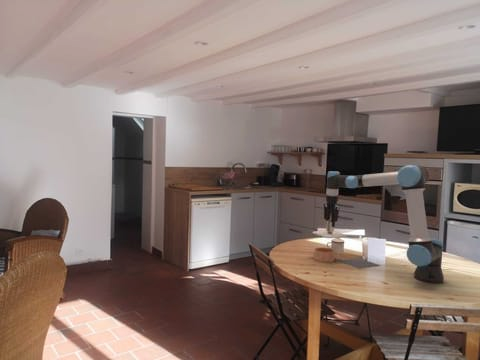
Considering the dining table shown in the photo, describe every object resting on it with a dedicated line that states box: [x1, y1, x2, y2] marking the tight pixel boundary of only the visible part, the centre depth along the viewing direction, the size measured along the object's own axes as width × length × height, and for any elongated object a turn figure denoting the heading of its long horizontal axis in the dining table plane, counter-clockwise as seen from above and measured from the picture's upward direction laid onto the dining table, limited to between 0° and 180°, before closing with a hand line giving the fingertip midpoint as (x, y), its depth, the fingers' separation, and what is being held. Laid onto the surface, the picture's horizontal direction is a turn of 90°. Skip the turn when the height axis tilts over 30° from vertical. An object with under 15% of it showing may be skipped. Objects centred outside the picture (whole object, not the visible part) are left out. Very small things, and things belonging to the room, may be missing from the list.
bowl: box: [313, 247, 336, 263], centre depth 238 cm, size 13×13×6 cm
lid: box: [312, 218, 349, 239], centre depth 236 cm, size 16×16×10 cm
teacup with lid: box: [326, 238, 345, 255], centre depth 258 cm, size 12×9×12 cm
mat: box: [337, 257, 382, 270], centre depth 232 cm, size 19×19×1 cm
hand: (329, 231), depth 237 cm, fingers closed on lid, 3 cm apart
